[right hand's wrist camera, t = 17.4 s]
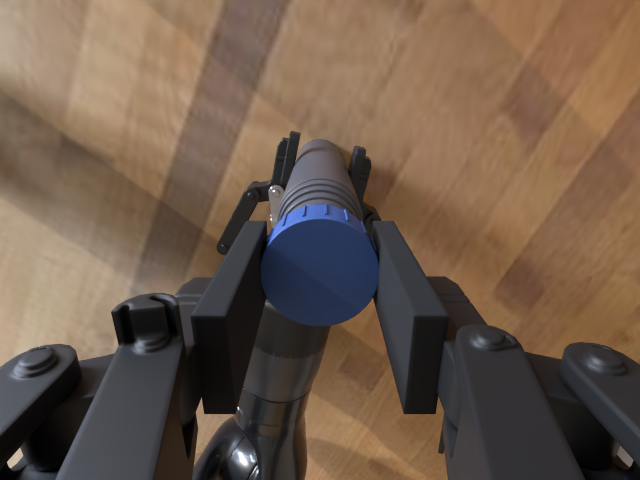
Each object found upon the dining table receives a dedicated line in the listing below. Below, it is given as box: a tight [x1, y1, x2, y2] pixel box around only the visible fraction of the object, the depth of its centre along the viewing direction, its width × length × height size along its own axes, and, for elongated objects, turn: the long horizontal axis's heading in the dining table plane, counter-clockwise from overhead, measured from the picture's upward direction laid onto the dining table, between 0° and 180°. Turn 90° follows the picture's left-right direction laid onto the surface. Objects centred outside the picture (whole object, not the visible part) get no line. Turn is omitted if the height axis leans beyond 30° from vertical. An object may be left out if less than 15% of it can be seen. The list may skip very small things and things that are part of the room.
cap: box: [261, 203, 379, 326], centre depth 14 cm, size 4×4×2 cm
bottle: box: [277, 139, 363, 224], centre depth 24 cm, size 4×4×23 cm
